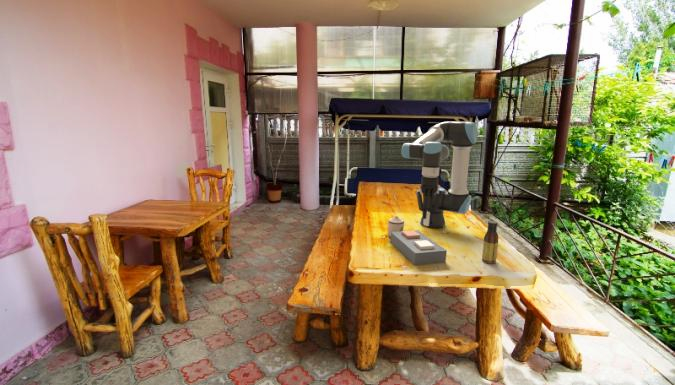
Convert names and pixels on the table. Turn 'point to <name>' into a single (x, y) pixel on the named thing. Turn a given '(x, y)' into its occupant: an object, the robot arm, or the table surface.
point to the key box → (414, 252)
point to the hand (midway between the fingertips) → (425, 224)
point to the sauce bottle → (490, 243)
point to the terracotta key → (410, 234)
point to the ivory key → (423, 244)
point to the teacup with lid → (395, 225)
